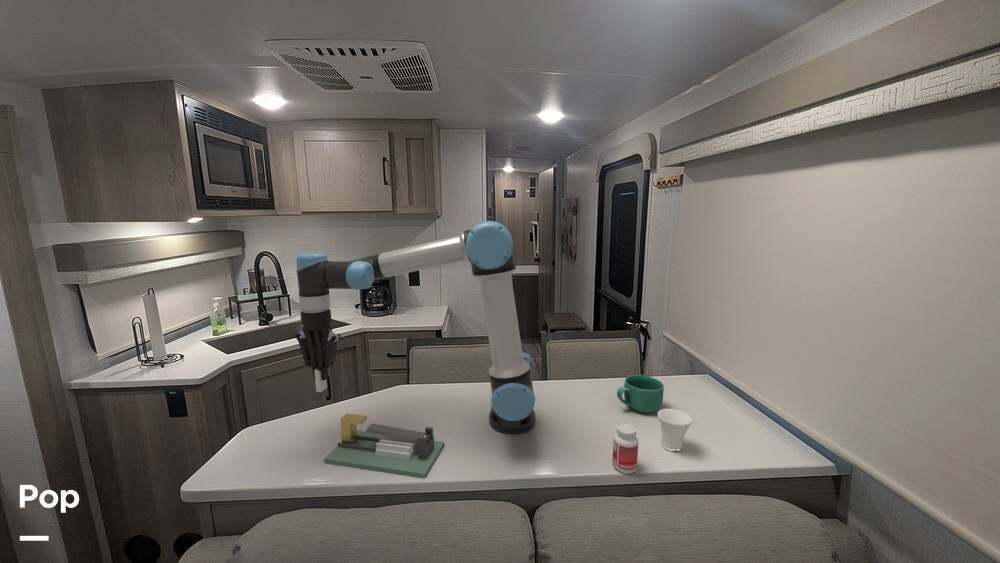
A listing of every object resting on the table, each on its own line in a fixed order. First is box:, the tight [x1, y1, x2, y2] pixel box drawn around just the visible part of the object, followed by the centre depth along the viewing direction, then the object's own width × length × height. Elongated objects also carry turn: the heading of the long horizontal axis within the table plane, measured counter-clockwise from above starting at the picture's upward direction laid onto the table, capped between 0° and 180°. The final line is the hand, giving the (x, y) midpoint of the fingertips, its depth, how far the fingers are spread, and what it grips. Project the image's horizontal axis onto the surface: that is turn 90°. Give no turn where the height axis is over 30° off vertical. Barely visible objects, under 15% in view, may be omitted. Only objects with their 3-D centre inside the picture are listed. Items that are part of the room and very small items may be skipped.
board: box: [323, 426, 445, 479], centre depth 102 cm, size 29×14×7 cm, turn 78°
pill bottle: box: [611, 423, 639, 475], centre depth 96 cm, size 6×6×11 cm
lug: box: [340, 413, 368, 444], centre depth 105 cm, size 6×3×8 cm, turn 78°
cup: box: [657, 408, 693, 450], centre depth 105 cm, size 9×9×10 cm
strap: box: [366, 423, 431, 443], centre depth 102 cm, size 18×3×2 cm, turn 78°
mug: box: [616, 374, 665, 413], centre depth 127 cm, size 17×13×10 cm
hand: (321, 389), depth 105 cm, fingers closed
